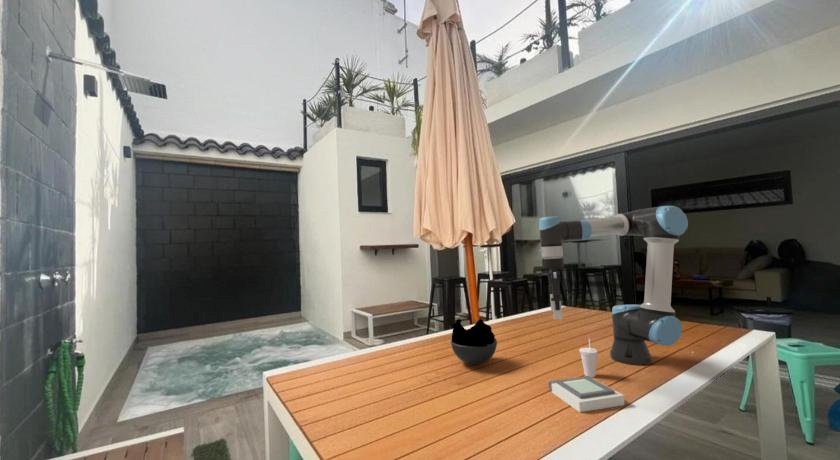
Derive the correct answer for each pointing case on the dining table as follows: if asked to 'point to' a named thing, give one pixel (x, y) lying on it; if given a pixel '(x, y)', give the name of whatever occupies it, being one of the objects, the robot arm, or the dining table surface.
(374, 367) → the dining table surface
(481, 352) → the bowl of black rocks
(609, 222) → the robot arm
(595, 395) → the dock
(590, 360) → the smoothie
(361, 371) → the dining table surface
